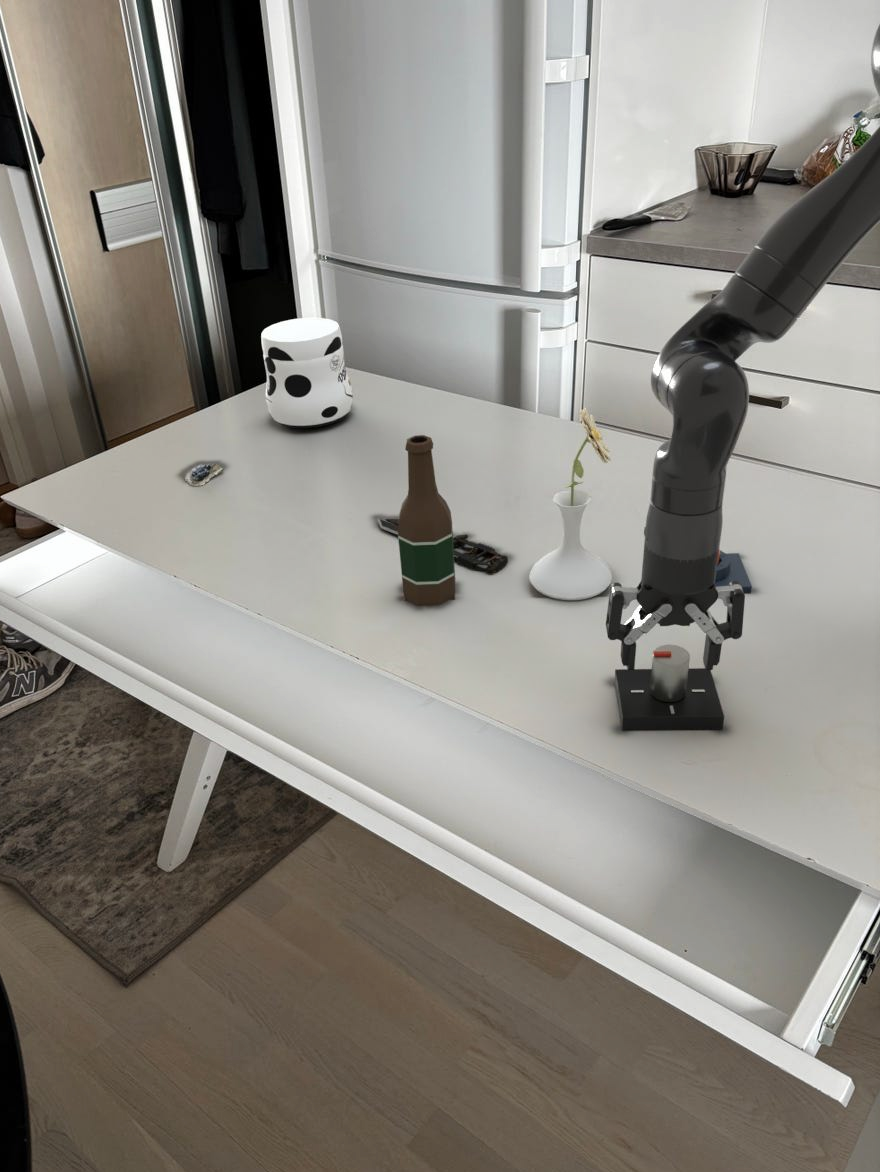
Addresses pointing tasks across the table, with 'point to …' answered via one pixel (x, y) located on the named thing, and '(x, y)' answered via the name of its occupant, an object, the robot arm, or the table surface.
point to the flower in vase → (574, 538)
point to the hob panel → (667, 703)
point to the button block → (732, 572)
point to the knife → (460, 542)
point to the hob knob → (669, 673)
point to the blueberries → (202, 474)
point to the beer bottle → (425, 532)
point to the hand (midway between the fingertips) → (668, 666)
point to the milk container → (306, 373)
